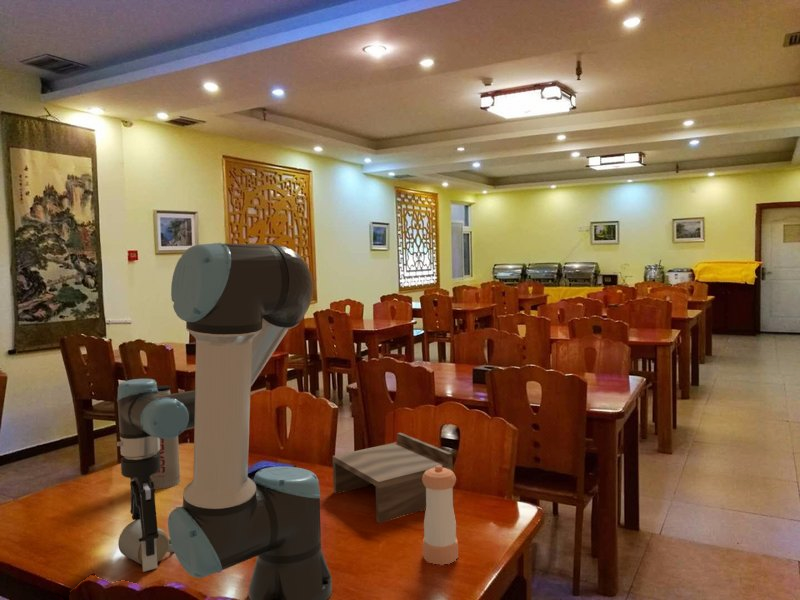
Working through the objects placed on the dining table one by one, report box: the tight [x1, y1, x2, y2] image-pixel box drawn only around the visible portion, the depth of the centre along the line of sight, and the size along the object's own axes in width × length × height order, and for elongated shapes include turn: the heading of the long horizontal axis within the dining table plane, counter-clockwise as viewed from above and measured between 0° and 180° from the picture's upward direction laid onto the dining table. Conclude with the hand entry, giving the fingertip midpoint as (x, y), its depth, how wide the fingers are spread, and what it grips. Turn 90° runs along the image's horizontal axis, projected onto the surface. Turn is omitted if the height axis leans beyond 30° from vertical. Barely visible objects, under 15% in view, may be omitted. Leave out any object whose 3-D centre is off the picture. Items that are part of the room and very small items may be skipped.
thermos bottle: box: [150, 385, 181, 489], centre depth 167 cm, size 8×8×28 cm
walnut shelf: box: [332, 432, 454, 524], centre depth 154 cm, size 24×22×12 cm
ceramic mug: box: [117, 520, 175, 565], centre depth 124 cm, size 11×8×8 cm
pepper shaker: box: [422, 465, 459, 566], centre depth 121 cm, size 7×7×19 cm
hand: (145, 558), depth 123 cm, fingers open, 9 cm apart
